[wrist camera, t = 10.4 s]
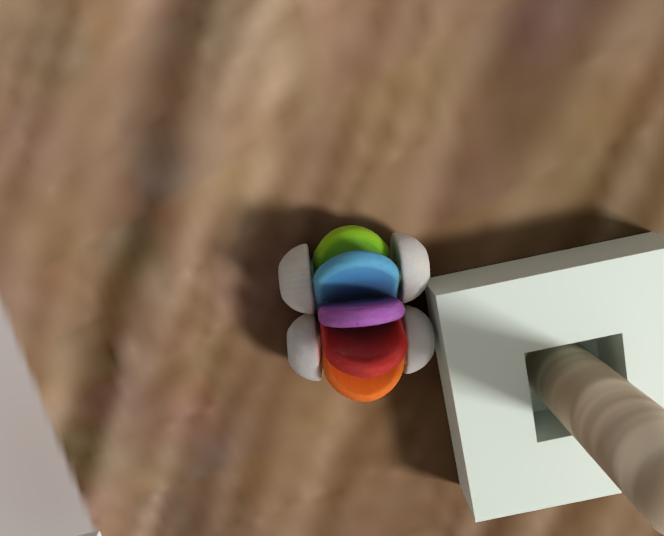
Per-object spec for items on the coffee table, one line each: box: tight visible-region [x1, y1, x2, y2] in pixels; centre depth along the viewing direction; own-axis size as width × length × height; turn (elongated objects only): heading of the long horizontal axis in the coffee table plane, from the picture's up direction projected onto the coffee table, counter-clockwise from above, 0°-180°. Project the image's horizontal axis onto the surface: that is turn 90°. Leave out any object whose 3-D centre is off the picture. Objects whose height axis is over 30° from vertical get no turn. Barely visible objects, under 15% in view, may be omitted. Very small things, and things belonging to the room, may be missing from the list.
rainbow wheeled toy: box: [278, 225, 435, 402], centre depth 34 cm, size 8×10×7 cm
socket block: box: [425, 232, 664, 522], centre depth 36 cm, size 14×14×4 cm
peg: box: [525, 342, 664, 535], centre depth 31 cm, size 4×4×14 cm
